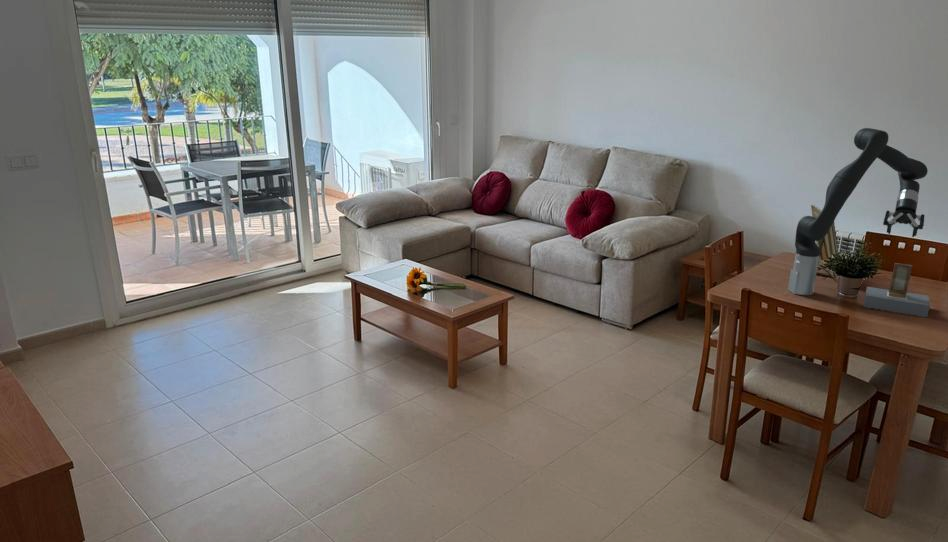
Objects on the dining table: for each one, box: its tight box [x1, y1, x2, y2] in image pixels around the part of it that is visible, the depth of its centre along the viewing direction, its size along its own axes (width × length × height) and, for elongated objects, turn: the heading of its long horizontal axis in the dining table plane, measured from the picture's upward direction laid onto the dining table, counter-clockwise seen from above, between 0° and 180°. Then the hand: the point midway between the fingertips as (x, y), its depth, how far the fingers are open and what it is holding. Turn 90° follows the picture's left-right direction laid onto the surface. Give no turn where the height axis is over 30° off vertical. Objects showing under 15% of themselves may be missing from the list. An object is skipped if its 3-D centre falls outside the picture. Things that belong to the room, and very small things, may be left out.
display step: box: [863, 286, 931, 318], centre depth 277 cm, size 22×14×5 cm, turn 59°
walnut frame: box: [888, 262, 913, 298], centre depth 274 cm, size 6×6×13 cm
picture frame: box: [810, 204, 839, 282], centre depth 317 cm, size 33×10×30 cm, turn 168°
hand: (901, 234), depth 281 cm, fingers open, 8 cm apart
